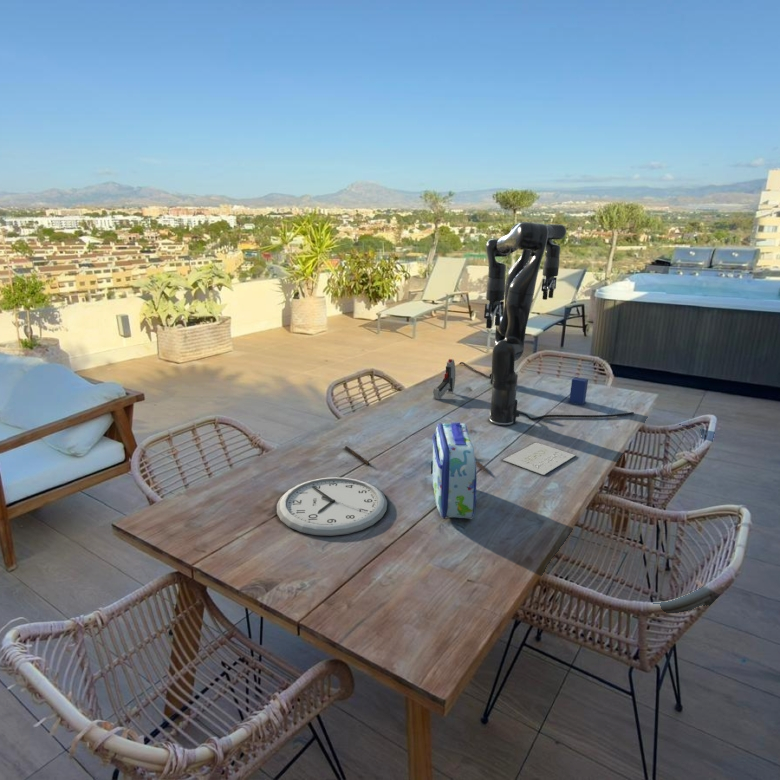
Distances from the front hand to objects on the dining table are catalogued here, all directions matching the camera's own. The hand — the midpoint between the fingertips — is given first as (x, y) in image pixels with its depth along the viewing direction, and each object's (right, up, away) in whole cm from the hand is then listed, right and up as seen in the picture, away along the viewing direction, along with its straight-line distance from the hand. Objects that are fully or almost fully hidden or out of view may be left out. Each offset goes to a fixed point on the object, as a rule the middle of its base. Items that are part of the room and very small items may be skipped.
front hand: (493, 326), depth 224 cm
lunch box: (-27, -58, -78) cm, 101 cm away
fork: (-16, -51, -55) cm, 77 cm away
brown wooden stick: (-55, -49, -51) cm, 90 cm away
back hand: (+36, +20, +43) cm, 60 cm away
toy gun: (-20, -30, +14) cm, 38 cm away
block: (+39, -33, +8) cm, 51 cm away
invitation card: (+6, -50, -50) cm, 71 cm away
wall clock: (-60, -59, -81) cm, 117 cm away
